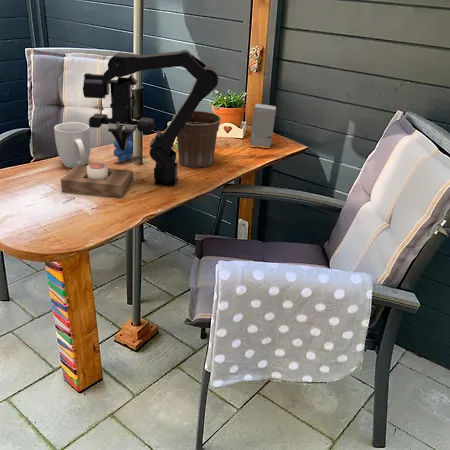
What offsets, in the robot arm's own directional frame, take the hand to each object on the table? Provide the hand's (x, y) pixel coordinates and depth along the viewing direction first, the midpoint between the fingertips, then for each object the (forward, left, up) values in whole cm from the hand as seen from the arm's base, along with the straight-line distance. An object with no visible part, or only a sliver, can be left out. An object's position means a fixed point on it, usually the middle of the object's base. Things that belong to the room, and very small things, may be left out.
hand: (123, 150), depth 150 cm
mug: (+19, -8, -10) cm, 23 cm away
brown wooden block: (+6, +7, -10) cm, 14 cm away
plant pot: (-19, -22, -10) cm, 31 cm away
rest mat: (0, 0, -10) cm, 10 cm away
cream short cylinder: (+6, +7, -9) cm, 13 cm away
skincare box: (-41, -47, -10) cm, 63 cm away
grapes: (+5, -18, -10) cm, 21 cm away
